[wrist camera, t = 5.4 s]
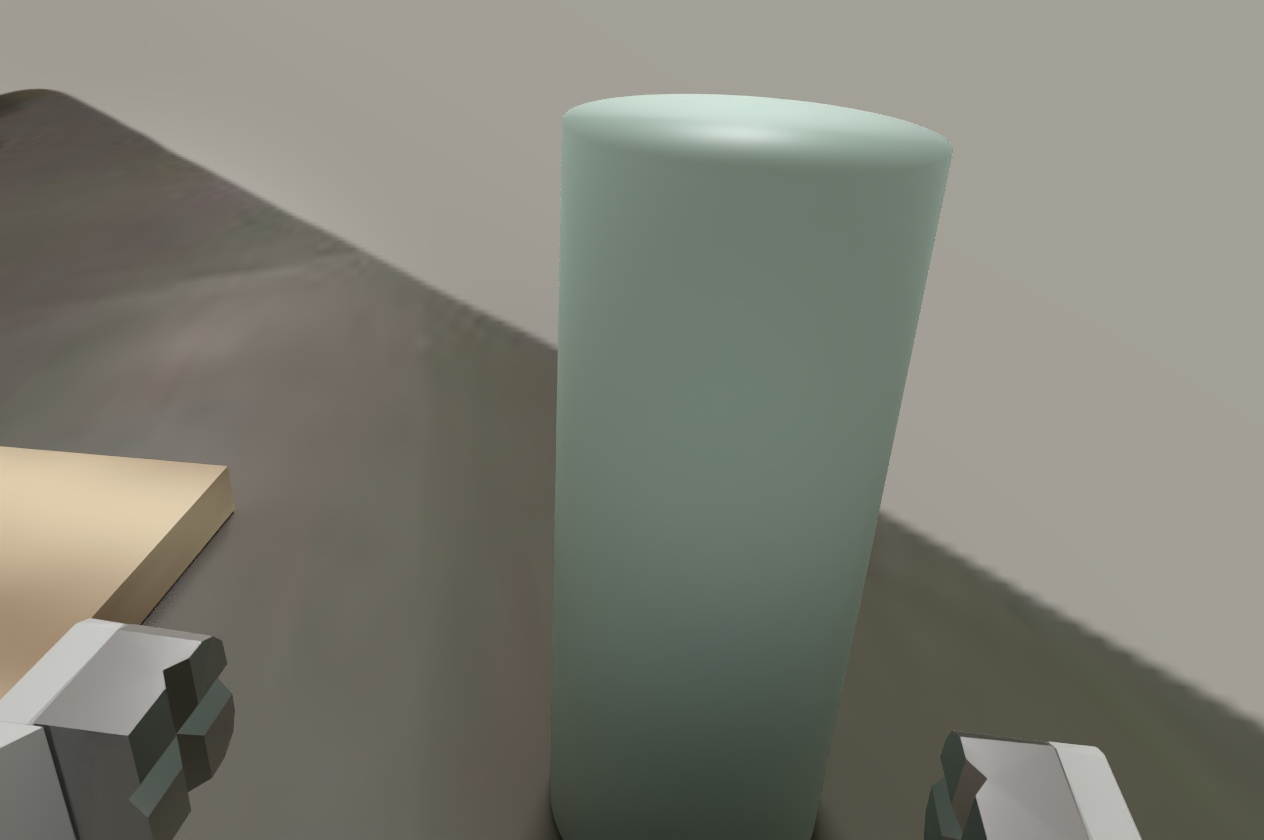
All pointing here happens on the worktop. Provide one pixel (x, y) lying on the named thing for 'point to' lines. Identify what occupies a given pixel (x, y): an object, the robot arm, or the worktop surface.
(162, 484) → the socket board
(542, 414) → the worktop surface
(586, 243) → the peg
